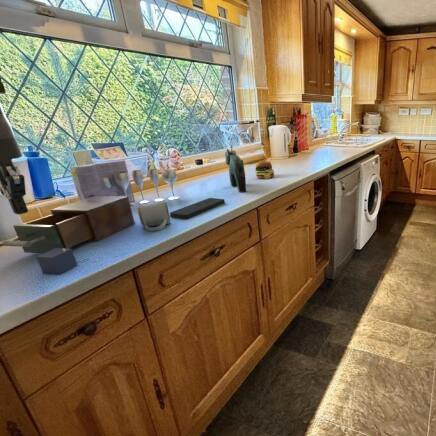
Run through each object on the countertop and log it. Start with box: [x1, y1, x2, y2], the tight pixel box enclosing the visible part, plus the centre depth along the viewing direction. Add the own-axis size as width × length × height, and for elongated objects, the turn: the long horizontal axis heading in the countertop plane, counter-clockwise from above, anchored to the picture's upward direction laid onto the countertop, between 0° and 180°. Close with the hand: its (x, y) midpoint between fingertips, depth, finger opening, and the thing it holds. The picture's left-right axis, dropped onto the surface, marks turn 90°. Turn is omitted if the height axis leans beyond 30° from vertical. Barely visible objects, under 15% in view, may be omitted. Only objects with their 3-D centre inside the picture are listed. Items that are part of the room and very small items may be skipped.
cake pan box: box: [69, 159, 136, 203], centre depth 118 cm, size 19×5×18 cm, turn 156°
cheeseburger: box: [255, 160, 275, 180], centre depth 164 cm, size 10×11×10 cm
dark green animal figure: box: [224, 144, 247, 193], centre depth 141 cm, size 20×6×20 cm, turn 28°
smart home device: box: [169, 197, 226, 220], centre depth 114 cm, size 8×2×20 cm
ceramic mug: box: [137, 200, 172, 232], centre depth 97 cm, size 11×8×8 cm
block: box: [35, 248, 78, 276], centre depth 72 cm, size 5×5×5 cm
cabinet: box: [50, 196, 136, 243], centre depth 94 cm, size 15×13×10 cm
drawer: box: [1, 212, 94, 255], centre depth 82 cm, size 18×11×8 cm, turn 170°
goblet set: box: [102, 168, 181, 206], centre depth 124 cm, size 28×6×13 cm, turn 118°
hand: (21, 213), depth 71 cm, fingers closed
